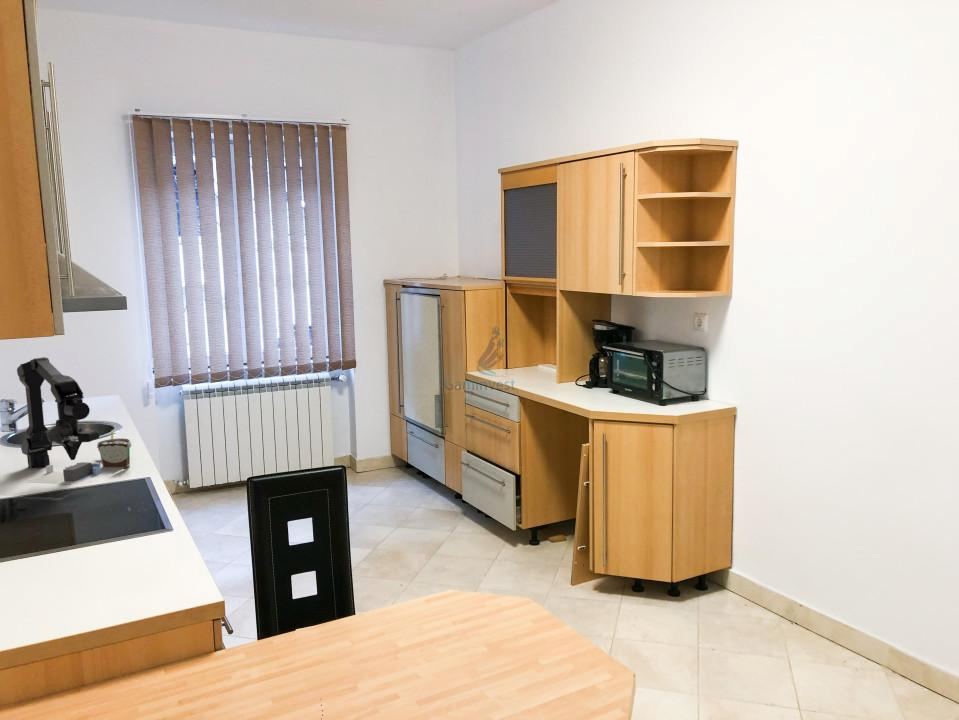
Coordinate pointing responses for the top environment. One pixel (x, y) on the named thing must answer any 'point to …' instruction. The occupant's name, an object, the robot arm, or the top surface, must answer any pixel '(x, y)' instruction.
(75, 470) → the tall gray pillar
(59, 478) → the miniature room diorama
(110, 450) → the food container
